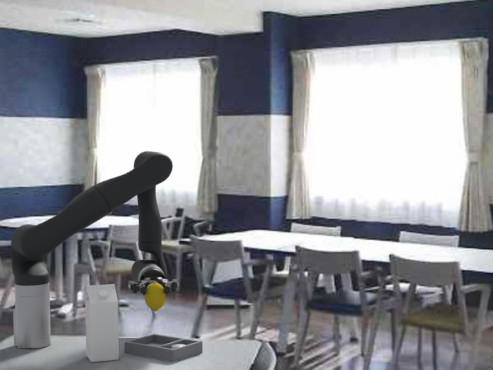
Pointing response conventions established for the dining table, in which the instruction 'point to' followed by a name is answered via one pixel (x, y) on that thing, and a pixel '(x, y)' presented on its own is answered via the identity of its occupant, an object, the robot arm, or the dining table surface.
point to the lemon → (155, 296)
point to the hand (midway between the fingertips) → (155, 290)
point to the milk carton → (101, 323)
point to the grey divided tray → (163, 347)
